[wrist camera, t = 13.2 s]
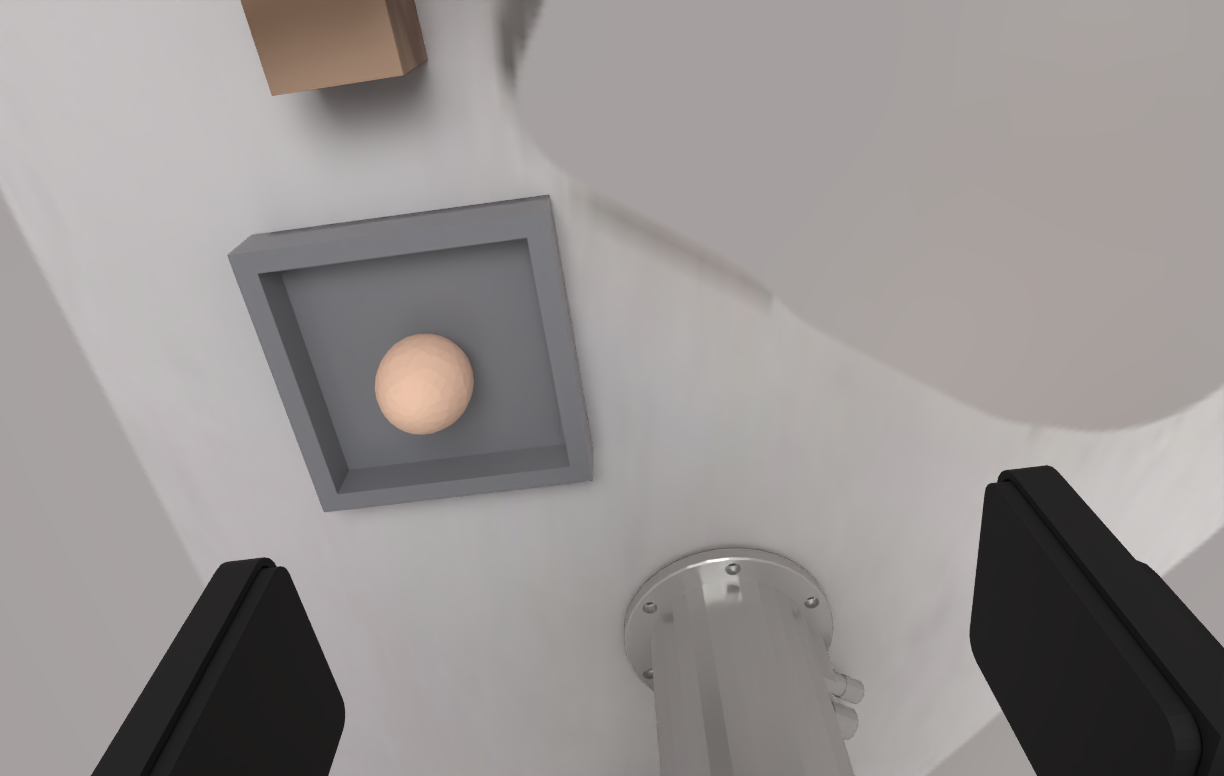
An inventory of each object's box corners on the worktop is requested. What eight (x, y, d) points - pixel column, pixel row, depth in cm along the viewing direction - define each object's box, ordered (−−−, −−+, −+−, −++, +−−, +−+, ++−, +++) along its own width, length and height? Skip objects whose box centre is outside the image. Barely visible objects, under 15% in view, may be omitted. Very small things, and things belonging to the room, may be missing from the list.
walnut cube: (428, 59, 34) (403, 75, 30) (313, 77, 34) (271, 95, 30) (396, -76, 32) (364, -81, 27) (273, -56, 32) (221, -57, 28)
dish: (592, 450, 43) (592, 480, 41) (339, 481, 44) (323, 512, 42) (549, 194, 37) (545, 212, 34) (251, 235, 37) (227, 254, 35)
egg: (429, 411, 41) (406, 475, 36) (370, 347, 40) (338, 404, 35) (498, 368, 40) (484, 427, 35) (441, 299, 38) (418, 351, 33)
